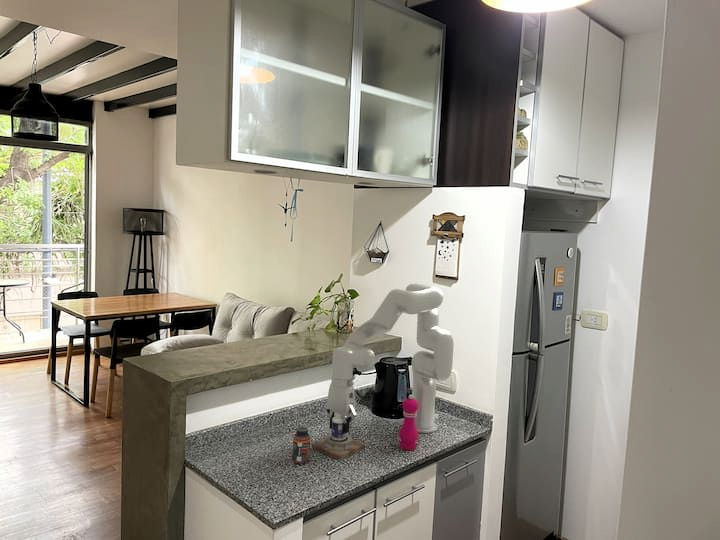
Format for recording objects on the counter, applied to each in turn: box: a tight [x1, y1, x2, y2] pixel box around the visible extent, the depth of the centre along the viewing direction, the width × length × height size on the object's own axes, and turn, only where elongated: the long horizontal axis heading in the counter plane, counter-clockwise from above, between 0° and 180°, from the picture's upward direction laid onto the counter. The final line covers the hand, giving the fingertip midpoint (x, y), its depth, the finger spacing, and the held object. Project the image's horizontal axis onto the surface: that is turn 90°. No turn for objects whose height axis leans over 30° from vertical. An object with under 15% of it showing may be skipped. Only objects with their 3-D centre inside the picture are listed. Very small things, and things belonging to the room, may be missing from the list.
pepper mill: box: [398, 394, 419, 451], centre depth 198 cm, size 7×7×20 cm
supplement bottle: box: [291, 426, 311, 465], centre depth 182 cm, size 6×6×11 cm
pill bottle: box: [330, 412, 347, 440], centre depth 193 cm, size 5×5×10 cm
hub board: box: [310, 433, 366, 461], centre depth 194 cm, size 14×14×4 cm
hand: (339, 429), depth 194 cm, fingers closed on pill bottle, 5 cm apart
